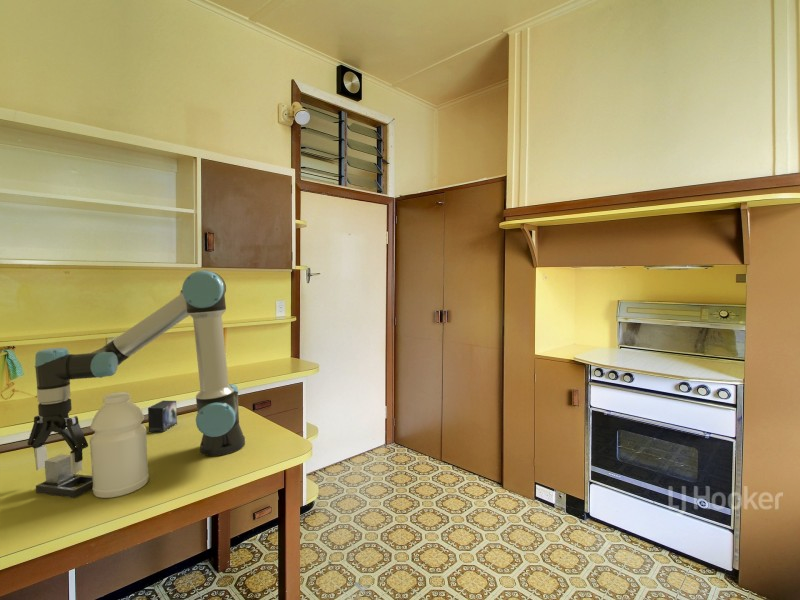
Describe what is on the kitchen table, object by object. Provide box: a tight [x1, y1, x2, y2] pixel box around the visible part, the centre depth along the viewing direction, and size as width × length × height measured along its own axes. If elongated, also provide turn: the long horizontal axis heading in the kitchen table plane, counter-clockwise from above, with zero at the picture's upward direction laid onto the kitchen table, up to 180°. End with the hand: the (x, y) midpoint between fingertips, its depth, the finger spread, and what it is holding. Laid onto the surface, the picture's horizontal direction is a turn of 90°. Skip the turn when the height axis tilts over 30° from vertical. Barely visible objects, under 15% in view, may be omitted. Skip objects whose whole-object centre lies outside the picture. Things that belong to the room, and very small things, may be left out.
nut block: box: [44, 453, 73, 486], centre depth 121 cm, size 4×4×9 cm
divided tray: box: [35, 473, 93, 499], centre depth 121 cm, size 14×8×2 cm, turn 77°
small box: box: [147, 400, 178, 433], centre depth 170 cm, size 11×6×10 cm, turn 179°
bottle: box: [89, 391, 150, 499], centre depth 120 cm, size 14×14×28 cm
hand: (59, 470), depth 121 cm, fingers open, 13 cm apart
